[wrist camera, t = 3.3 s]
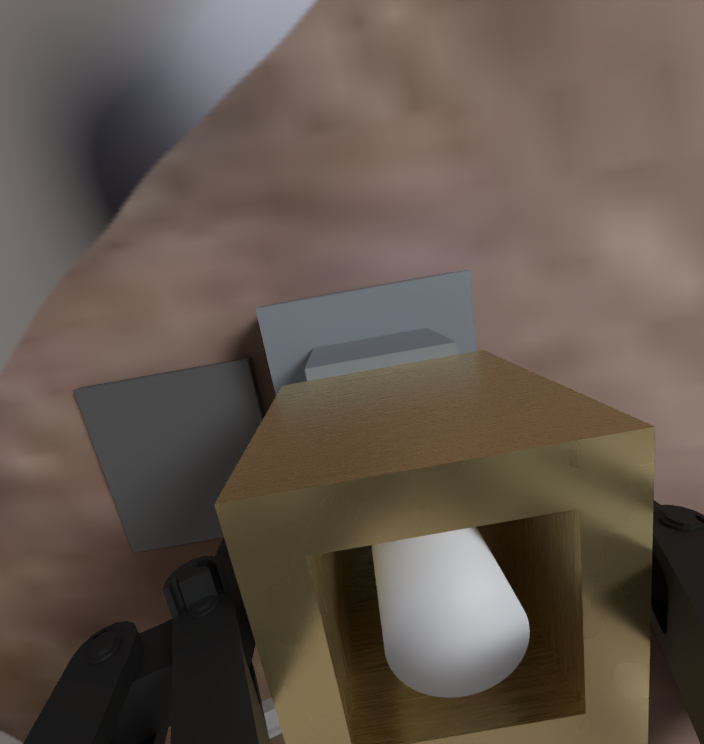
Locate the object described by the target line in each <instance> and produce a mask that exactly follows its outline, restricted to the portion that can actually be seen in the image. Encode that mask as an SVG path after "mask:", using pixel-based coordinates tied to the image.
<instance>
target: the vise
mask: <svg viewBox="0 0 704 744" xmlns="http://www.w3.org/2000/svg"><path fill="white" fill-rule="evenodd" d="M256 313H257V318H258V322H259V326H260V330H261V335H262V339H263V343H264V348H265V352H266V356H267V360H268V365H269V369H270V373H271V377H272V382H273V386H274V390H275V394H276V396H277V394H278V392H279V390H280V389H281V387H282V386H283V385H289V384H294V383H300V382H305V381H311V380H317V379H322V378H328V377H334V376H339V375H345V374H350V373H356V372H362V371H367V370H373V369H378V368H384V367H390V366H395V365H401V364H407V363H412V362H418V361H423V360H429V359H435V358H440V357H446V356H452V355H457V354H463V353H468V352H474V351H477V349H476V338H475V328H474V317H473V307H472V296H471V286H470V275H469V270H467V271H458V272H450V273H443V274H438V275H432V276H427V277H421V278H415V279H410V280H404V281H399V282H393V283H388V284H382V285H376V286H371V287H365V288H360V289H354V290H349V291H343V292H337V293H332V294H326V295H321V296H315V297H310V298H304V299H299V300H293V301H287V302H282V303H276V304H271V305H267V306H263V307H259V308H256ZM371 546H372V554H373V562H374V570H375V578H376V586H377V594H378V602H379V610H380V618H381V626H382V634H383V643H384V651H385V656H386V659H387V662H388V664H389V667H390V668H391V670H392V671H393V673H394V674H395V675H396V676H397V678H398V679H399V680H400V681H402V682H403V683H404V684H405V685H407V686H408V687H410V688H412V689H414V690H416V691H418V692H420V693H423V694H426V695H430V696H435V697H445V698H453V697H463V696H468V695H473V694H476V693H479V692H482V691H484V690H487V689H489V688H491V687H493V686H495V685H496V684H498V683H500V682H501V681H502V680H504V679H505V678H506V677H507V676H508V675H510V674H511V673H512V672H513V671H514V669H515V668H516V667H517V666H518V665H519V663H520V662H521V660H522V658H523V656H524V654H525V652H526V650H527V647H528V643H529V637H530V628H529V621H528V618H527V615H526V613H525V611H524V609H523V607H522V606H521V604H520V602H519V600H518V599H517V597H516V595H515V593H514V592H513V590H512V588H511V586H510V584H509V583H508V581H507V579H506V577H505V576H504V574H503V572H502V570H501V569H500V567H499V565H498V563H497V562H496V560H495V558H494V556H493V555H492V553H491V551H490V549H489V548H488V546H487V544H486V542H485V541H484V539H483V537H482V535H481V534H480V532H479V530H478V528H477V527H472V528H466V529H460V530H455V531H449V532H443V533H437V534H432V535H426V536H420V537H414V538H409V539H403V540H397V541H392V542H386V543H380V544H374V545H371Z"/></svg>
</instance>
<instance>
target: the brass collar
mask: <svg viewBox="0 0 704 744" xmlns="http://www.w3.org/2000/svg"><path fill="white" fill-rule="evenodd" d="M654 456H655V426H652V425H650V424H648V423H646V422H643V421H641V420H639V419H637V418H634V417H632V416H630V415H628V414H625V413H623V412H621V411H619V410H617V409H614V408H612V407H610V406H608V405H605V404H603V403H601V402H599V401H596V400H594V399H592V398H590V397H587V396H585V395H583V394H581V393H578V392H576V391H574V390H572V389H569V388H567V387H565V386H563V385H560V384H558V383H556V382H554V381H551V380H549V379H547V378H545V377H543V376H540V375H538V374H536V373H534V372H531V371H529V370H527V369H525V368H522V367H520V366H518V365H516V364H513V363H511V362H509V361H507V360H504V359H502V358H500V357H498V356H495V355H493V354H491V353H489V352H486V351H484V350H480V351H474V352H468V353H463V354H457V355H452V356H446V357H440V358H435V359H429V360H423V361H418V362H412V363H407V364H401V365H395V366H390V367H384V368H378V369H373V370H367V371H362V372H356V373H350V374H345V375H339V376H334V377H328V378H322V379H317V380H311V381H305V382H300V383H294V384H289V385H283V386H282V387H281V389H280V390H279V392H278V394H277V396H276V397H275V399H274V401H273V403H272V404H271V406H270V408H269V409H268V411H267V413H266V415H265V416H264V418H263V420H262V422H261V423H260V425H259V427H258V429H257V430H256V432H255V434H254V436H253V437H252V439H251V441H250V443H249V444H248V446H247V448H246V450H245V451H244V453H243V455H242V457H241V458H240V460H239V462H238V464H237V465H236V467H235V469H234V471H233V472H232V474H231V476H230V478H229V479H228V481H227V483H226V485H225V486H224V488H223V490H222V492H221V493H220V495H219V497H218V499H217V500H216V502H215V504H214V505H215V509H216V512H217V515H218V519H219V522H220V525H221V529H222V532H223V536H224V539H225V542H226V546H227V549H228V552H229V556H230V559H231V562H232V566H233V569H234V572H235V576H236V579H237V583H238V586H239V589H240V593H241V596H242V599H243V603H244V606H245V609H246V613H247V616H248V619H249V623H250V626H251V630H252V633H253V636H254V640H255V643H256V646H257V650H258V653H259V656H260V660H261V663H262V666H263V670H264V673H265V677H266V680H267V683H268V687H269V690H270V693H271V697H272V700H273V703H274V707H275V710H276V713H277V717H278V720H279V724H280V727H281V730H282V734H283V737H284V740H285V744H648V714H649V671H650V628H651V585H652V542H653V499H654ZM472 527H477V528H478V530H479V532H480V534H481V535H482V537H483V539H484V541H485V542H486V544H487V546H488V548H489V549H490V551H491V553H492V555H493V556H494V558H495V560H496V562H497V563H498V565H499V567H500V569H501V570H502V572H503V574H504V576H505V577H506V579H507V581H508V583H509V584H510V586H511V588H512V590H513V592H514V593H515V595H516V597H517V599H518V600H519V602H520V604H521V606H522V607H523V609H524V611H525V613H526V615H527V618H528V621H529V628H530V637H529V643H528V647H527V650H526V652H525V654H524V656H523V658H522V660H521V662H520V663H519V665H518V666H517V667H516V668H515V669H514V671H513V672H512V673H511V674H510V675H508V676H507V677H506V678H505V679H504V680H502V681H501V682H500V683H498V684H496V685H495V686H493V687H491V688H489V689H487V690H484V691H482V692H479V693H476V694H473V695H468V696H463V697H453V698H445V697H435V696H430V695H426V694H423V693H420V692H418V691H416V690H414V689H412V688H410V687H408V686H407V685H405V684H404V683H403V682H402V681H400V680H399V679H398V678H397V676H396V675H395V674H394V673H393V671H392V670H391V668H390V667H389V664H388V662H387V659H386V656H385V651H384V643H383V634H382V626H381V618H380V610H379V602H378V594H377V586H376V578H375V570H374V562H373V554H372V546H371V545H374V544H380V543H386V542H392V541H397V540H403V539H409V538H414V537H420V536H426V535H432V534H437V533H443V532H449V531H455V530H460V529H466V528H472Z"/></svg>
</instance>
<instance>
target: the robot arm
mask: <svg viewBox="0 0 704 744" xmlns="http://www.w3.org/2000/svg"><path fill="white" fill-rule="evenodd" d="M163 592H164V595H165V597H166V600H167V603H168V606H169V609H170V611H171V614H172V617H173V619H171V620H169V621H167V622H165V623H163V624H160V625H158V626H156V627H153V628H151V629H149V630H147V631H144V632H142V633H140V634H139V633H138V631H137V628H136V626H135V624H134V623H131V622H128V621H124V622H118V623H114V624H112V625H110V626H107V627H105V628H103V629H102V630H100V631H99V632H97V633H96V634H94V635H93V636H91V637H90V638H89V639H88V640H87V641H86V642H85V643H84V644H83V645H81V646H80V647H79V649H78V650H77V652H76V653H75V654H74V656H73V657H72V658H71V660H70V662H69V664H68V665H67V667H66V669H65V671H64V673H63V674H62V676H61V678H60V680H59V681H58V683H57V685H56V687H55V688H54V690H53V692H52V694H51V696H50V697H49V699H48V701H47V703H46V704H45V706H44V708H43V710H42V711H41V713H40V715H39V717H38V719H37V720H36V722H35V724H34V726H33V727H32V729H31V731H30V733H29V735H28V736H27V738H26V740H25V742H24V743H23V744H164V743H165V739H166V735H167V731H168V727H170V726H171V744H270V739H269V735H268V730H267V725H266V720H265V716H264V711H263V706H262V702H261V697H260V692H259V688H258V683H257V678H256V674H255V670H254V667H253V664H252V657H253V653H254V648H255V644H256V643H255V640H254V636H253V633H252V630H251V626H250V623H249V619H248V616H247V613H246V609H245V606H244V603H243V599H242V596H241V593H240V589H239V586H238V583H237V579H236V576H235V572H234V569H233V566H232V562H231V559H230V556H229V552H228V549H227V546H226V542H225V539H224V538H223V540H222V542H221V545H220V547H219V549H218V551H217V555H215V557H214V556H203V557H199V558H196V559H193V560H191V561H189V562H187V563H185V564H184V565H182V566H180V567H179V568H178V569H177V570H176V571H174V572H173V573H172V574H171V575H170V577H169V578H168V579H167V581H166V582H165V585H164V588H163ZM651 624H652V627H653V629H654V631H655V634H656V636H657V639H658V641H659V644H660V646H661V648H662V651H663V653H664V656H665V658H666V661H667V663H668V666H669V668H670V670H671V673H672V675H673V678H674V680H675V683H676V685H677V687H678V690H679V692H680V695H681V697H682V700H683V702H684V705H685V707H686V709H687V712H688V714H689V717H690V719H691V722H692V724H693V726H694V729H695V731H696V734H697V736H698V739H699V741H700V744H704V515H702V514H700V513H698V512H696V511H694V510H691V509H687V508H684V507H680V506H673V505H660V504H659V503H657V502H656V501H654V500H653V542H652V585H651Z"/></svg>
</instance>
